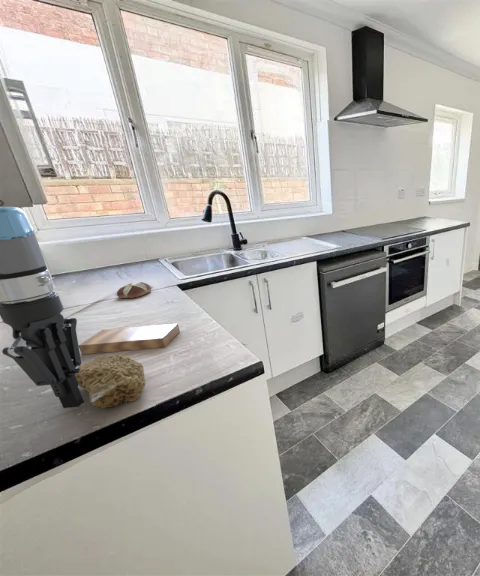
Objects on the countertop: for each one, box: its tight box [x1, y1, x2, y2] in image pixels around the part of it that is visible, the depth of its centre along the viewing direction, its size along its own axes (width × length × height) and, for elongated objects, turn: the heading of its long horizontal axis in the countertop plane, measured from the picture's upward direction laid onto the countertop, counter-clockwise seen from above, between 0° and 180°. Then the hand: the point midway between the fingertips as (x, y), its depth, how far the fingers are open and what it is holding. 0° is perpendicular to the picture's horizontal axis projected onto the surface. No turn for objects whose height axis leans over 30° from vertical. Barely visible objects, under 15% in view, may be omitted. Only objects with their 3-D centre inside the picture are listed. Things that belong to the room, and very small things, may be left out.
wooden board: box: [78, 323, 181, 355], centre depth 95 cm, size 22×10×3 cm, turn 100°
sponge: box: [74, 354, 146, 410], centre depth 73 cm, size 13×8×20 cm
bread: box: [116, 281, 152, 299], centre depth 135 cm, size 11×11×5 cm
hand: (74, 404), depth 63 cm, fingers closed
